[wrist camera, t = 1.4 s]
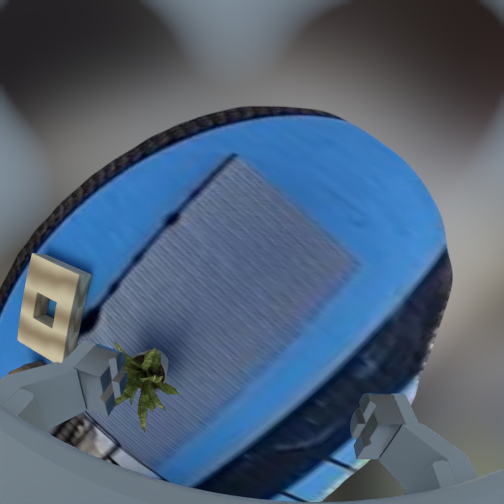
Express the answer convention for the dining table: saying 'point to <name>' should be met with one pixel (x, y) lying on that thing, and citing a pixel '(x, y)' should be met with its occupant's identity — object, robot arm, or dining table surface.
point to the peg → (28, 367)
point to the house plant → (145, 380)
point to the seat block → (67, 309)
